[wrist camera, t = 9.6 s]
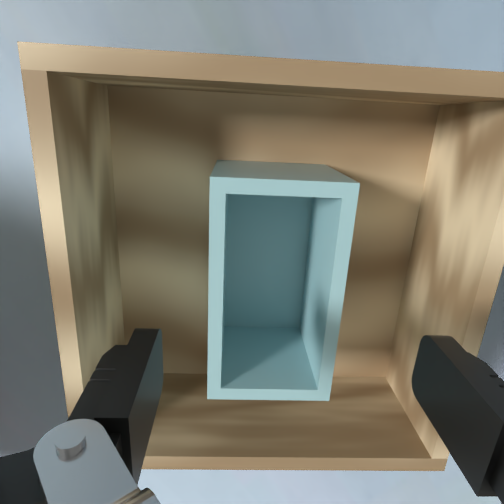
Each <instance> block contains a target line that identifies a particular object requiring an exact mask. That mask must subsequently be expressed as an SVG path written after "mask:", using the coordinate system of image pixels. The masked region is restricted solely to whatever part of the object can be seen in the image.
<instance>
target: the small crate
mask: <svg viewBox="0 0 504 504" xmlns="http://www.w3.org/2000/svg"><path fill="white" fill-rule="evenodd" d="M359 188H360V183H359V182H357V181H355V180H353V179H351V178H350V177H348V176H346V175H344V174H342V173H340V172H338V171H336V170H335V169H333V168H331V167H329V166H327V165H325V164H304V163H282V162H260V161H237V160H217V162H216V164H215V166H214V168H213V171H212V173H211V175H210V194H209V281H208V369H207V399H227V400H303V401H329V399H330V392H331V385H332V378H333V371H334V364H335V357H336V350H337V343H338V336H339V329H340V322H341V315H342V308H343V301H344V294H345V286H346V279H347V272H348V265H349V258H350V251H351V244H352V237H353V230H354V223H355V216H356V209H357V202H358V195H359Z"/></svg>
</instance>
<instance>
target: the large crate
mask: <svg viewBox="0 0 504 504" xmlns="http://www.w3.org/2000/svg"><path fill="white" fill-rule="evenodd" d="M17 43H18V50H19V58H20V65H21V73H22V80H23V87H24V95H25V102H26V109H27V117H28V124H29V132H30V139H31V146H32V154H33V161H34V169H35V176H36V183H37V191H38V198H39V206H40V213H41V220H42V228H43V235H44V243H45V250H46V257H47V265H48V272H49V279H50V287H51V294H52V302H53V309H54V316H55V324H56V331H57V339H58V346H59V353H60V361H61V368H62V376H63V383H64V390H65V398H66V405H67V412H68V418H69V416H70V414H71V413H72V411H73V409H74V407H75V405H76V403H77V401H78V400H79V398H80V396H81V394H82V392H83V390H84V388H85V387H86V385H87V383H88V381H90V377H91V376H92V374H93V372H94V371H95V369H96V366H97V364H98V363H99V361H100V359H101V357H102V355H104V354H105V353H106V352H107V351H108V350H110V349H111V348H112V347H113V346H115V345H127V344H128V342H129V340H130V338H131V336H132V333H133V331H134V329H135V328H152V329H161V331H162V348H163V386H162V392H161V396H160V400H159V404H158V408H157V411H156V415H155V419H154V423H153V427H152V431H151V435H150V438H149V442H148V446H147V450H146V454H145V458H144V461H143V465H142V469H210V470H371V471H444V469H445V466H446V463H447V459H448V456H449V451H448V449H447V447H446V446H445V444H444V443H443V441H442V439H441V438H440V436H439V435H438V433H437V431H436V430H435V428H434V427H433V425H432V423H431V422H430V420H429V419H428V417H427V415H426V414H425V412H424V411H423V409H422V407H421V406H420V404H419V403H418V401H417V399H416V398H415V396H414V393H413V390H412V374H413V369H414V365H415V361H416V357H417V353H418V349H419V344H420V341H421V339H422V337H423V336H425V335H443V336H451V337H453V338H454V339H455V340H456V341H457V342H458V343H459V344H460V345H461V346H462V348H463V349H464V350H465V351H466V352H469V353H471V354H472V355H474V356H476V357H477V355H478V352H479V348H480V345H481V342H482V338H483V335H484V331H485V328H486V324H487V321H488V317H489V314H490V310H491V307H492V304H493V300H494V297H495V293H496V290H497V286H498V283H499V279H500V276H501V272H502V269H503V266H504V72H493V71H477V70H461V69H446V68H430V67H414V66H398V65H382V64H366V63H350V62H334V61H318V60H302V59H286V58H271V57H255V56H239V55H223V54H207V53H191V52H175V51H159V50H143V49H127V48H111V47H96V46H80V45H64V44H48V43H32V42H17ZM217 160H237V161H260V162H282V163H304V164H325V165H327V166H329V167H331V168H333V169H335V170H336V171H338V172H340V173H342V174H344V175H346V176H348V177H350V178H351V179H353V180H355V181H357V182H359V183H360V188H359V195H358V202H357V209H356V216H355V223H354V230H353V237H352V244H351V251H350V258H349V265H348V272H347V279H346V286H345V294H344V301H343V308H342V315H341V322H340V329H339V336H338V343H337V350H336V357H335V364H334V371H333V378H332V385H331V392H330V399H329V401H303V400H227V399H207V369H208V281H209V194H210V175H211V173H212V171H213V168H214V166H215V164H216V162H217Z"/></svg>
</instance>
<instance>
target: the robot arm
mask: <svg viewBox="0 0 504 504" xmlns="http://www.w3.org/2000/svg"><path fill="white" fill-rule="evenodd" d="M162 386H163V348H162V331H161V329H152V328H135V329H134V331H133V333H132V336H131V338H130V340H129V342H128V344H127V345H115V346H113V347H112V348H111V349H110V350H108V351H107V352H106V353H105V354H104V355H102V357H101V359H100V361H99V363H98V364H97V366H96V369H95V371H94V372H93V374H92V376H91V377H90V381H88V383H87V385H86V387H85V388H84V390H83V392H82V394H81V396H80V398H79V400H78V401H77V403H76V405H75V407H74V409H73V411H72V413H71V414H70V416H69V418H68V420H67V422H64V423H62V424H59V425H57V426H56V427H54V428H52V429H51V430H49V431H48V432H47V433H46V434H45V435H44V436H43V437H42V438H41V439H40V440H39V441H38V443H37V445H36V447H35V448H33V449H30V450H27V451H24V452H20V453H16V454H12V455H8V456H4V457H0V504H160V502H159V501H158V499H157V497H156V496H155V494H154V493H153V492H152V491H151V490H150V489H149V488H145V489H144V490H142V491H141V490H140V489H139V488H138V486H137V484H138V481H139V477H140V473H141V469H142V465H143V461H144V458H145V454H146V450H147V446H148V442H149V438H150V435H151V431H152V427H153V423H154V419H155V415H156V411H157V408H158V404H159V400H160V396H161V392H162ZM412 390H413V393H414V396H415V398H416V399H417V401H418V403H419V404H420V406H421V407H422V409H423V411H424V412H425V414H426V415H427V417H428V419H429V420H430V422H431V423H432V425H433V427H434V428H435V430H436V431H437V433H438V435H439V436H440V438H441V439H442V441H443V443H444V444H445V446H446V447H447V449H448V451H449V452H450V454H451V455H452V457H453V459H454V460H455V462H456V463H457V465H458V467H459V468H460V470H461V471H462V473H463V475H464V476H465V478H466V479H467V481H468V483H469V484H470V486H471V487H472V489H473V491H474V492H475V494H476V495H477V496H498V498H499V499H500V501H501V502H502V503H501V504H504V381H503V380H502V379H501V378H498V375H497V374H496V373H495V372H494V371H493V370H492V369H491V368H490V367H489V366H488V365H487V364H486V363H485V362H483V361H482V360H480V359H479V358H477V357H476V356H474V355H472V354H471V353H469V352H466V351H465V350H464V349H463V348H462V346H461V345H460V344H459V343H458V342H457V341H456V340H455V339H454V338H453V337H451V336H443V335H425V336H423V337H422V339H421V341H420V344H419V349H418V353H417V357H416V361H415V365H414V369H413V374H412Z"/></svg>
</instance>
